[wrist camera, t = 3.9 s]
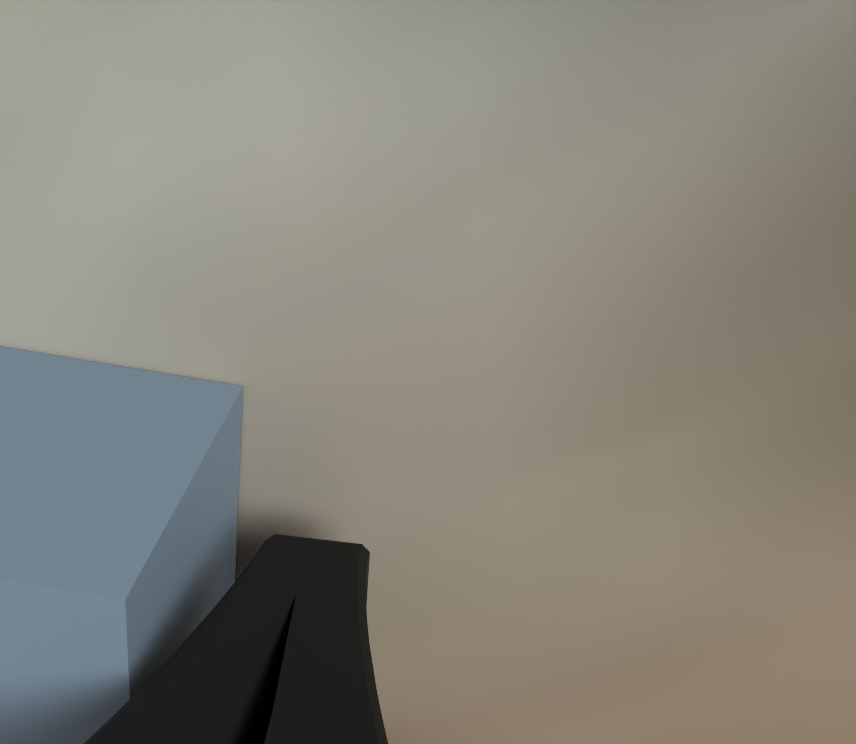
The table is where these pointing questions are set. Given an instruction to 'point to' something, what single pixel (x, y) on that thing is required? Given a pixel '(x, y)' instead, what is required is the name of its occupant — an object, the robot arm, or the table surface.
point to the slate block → (106, 533)
